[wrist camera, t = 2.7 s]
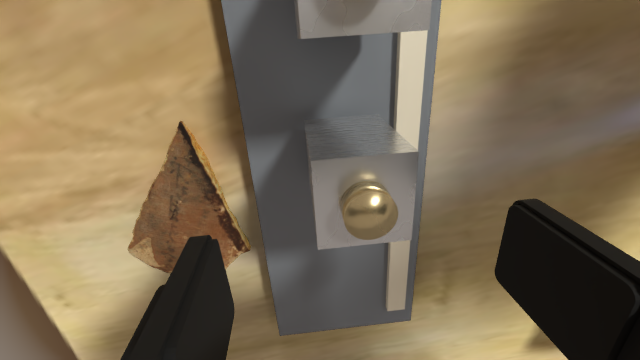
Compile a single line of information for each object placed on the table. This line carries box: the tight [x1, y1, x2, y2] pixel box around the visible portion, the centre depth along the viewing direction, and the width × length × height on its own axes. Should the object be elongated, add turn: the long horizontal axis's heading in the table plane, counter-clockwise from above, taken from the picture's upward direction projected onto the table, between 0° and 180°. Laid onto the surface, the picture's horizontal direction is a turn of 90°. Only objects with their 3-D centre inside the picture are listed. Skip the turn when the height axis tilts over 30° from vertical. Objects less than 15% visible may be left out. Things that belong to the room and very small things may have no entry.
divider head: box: [304, 114, 419, 250], centre depth 14 cm, size 4×4×8 cm
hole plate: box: [221, 0, 441, 336], centre depth 20 cm, size 28×11×2 cm, turn 3°
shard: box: [128, 121, 251, 273], centre depth 21 cm, size 11×8×2 cm
